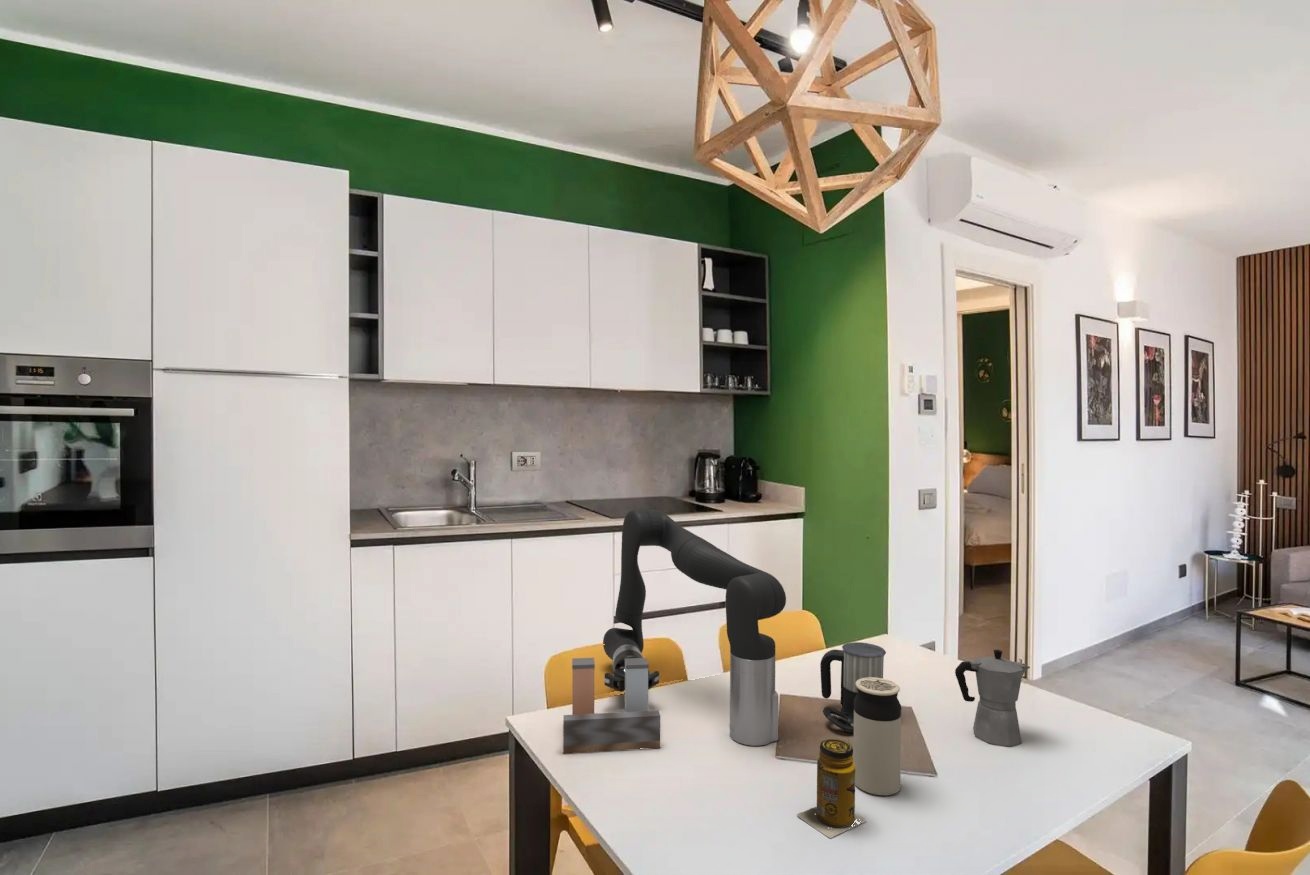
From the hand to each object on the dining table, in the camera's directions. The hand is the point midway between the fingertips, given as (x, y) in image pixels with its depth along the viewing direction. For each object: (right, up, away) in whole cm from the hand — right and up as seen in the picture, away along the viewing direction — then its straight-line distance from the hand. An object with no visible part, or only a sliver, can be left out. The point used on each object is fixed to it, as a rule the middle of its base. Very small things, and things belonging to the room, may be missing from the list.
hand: (635, 693), depth 143 cm
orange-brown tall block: (-11, -5, -2) cm, 12 cm away
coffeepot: (+74, -8, -4) cm, 74 cm away
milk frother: (+47, -7, +3) cm, 48 cm away
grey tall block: (0, -5, -2) cm, 6 cm away
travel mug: (+44, -8, -23) cm, 50 cm away
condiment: (+33, -8, -33) cm, 47 cm away
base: (-5, -7, -4) cm, 9 cm away
